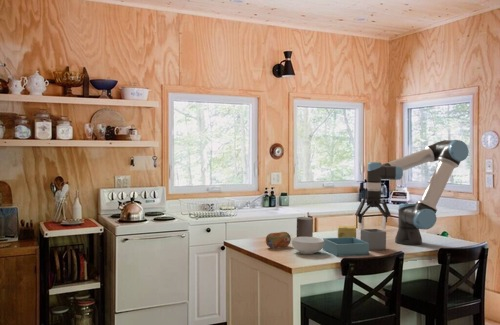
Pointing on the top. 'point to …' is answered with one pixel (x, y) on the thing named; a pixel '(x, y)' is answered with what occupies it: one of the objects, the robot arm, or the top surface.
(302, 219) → the pillar candle
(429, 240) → the top surface
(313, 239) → the cereal bowl
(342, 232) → the cheese
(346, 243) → the teal crate
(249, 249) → the top surface
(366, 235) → the block
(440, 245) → the top surface
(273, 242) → the tin
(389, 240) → the top surface
